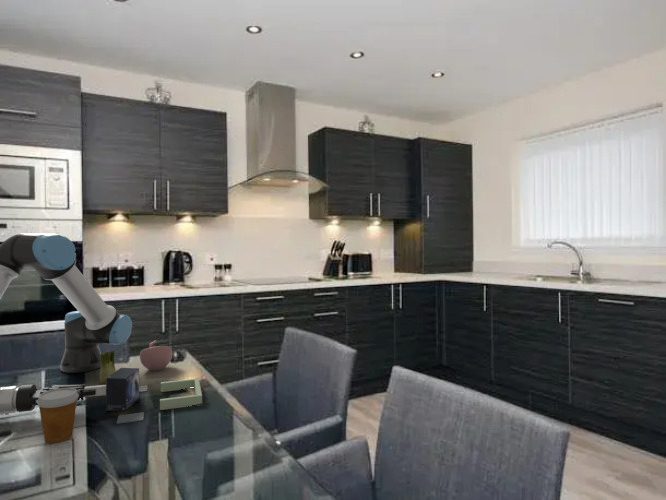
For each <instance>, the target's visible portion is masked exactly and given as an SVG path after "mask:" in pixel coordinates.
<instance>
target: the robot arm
mask: <svg viewBox="0 0 666 500" xmlns="http://www.w3.org/2000/svg"><path fill="white" fill-rule="evenodd" d="M76 251H77V250H76V246H75V244H74V243H73V241H72V240H71V239H70V238H68V237H67V236H65V235H63V234H59V233H52V232H51V233H50V232H47V233H29V232H27V233H26V232H24V233H18V234H14V235H12V236H10V237H9V238H7V239H6V240H4V241H3V242H2V243H1V244H0V300H1V299H2V297H3V296H4V295H5V293H6V291H7V289H8V287H9V285H10V283H12V280H14V279H17V278H19V276H20V273H22V271H23V270H25V269H32V270H33V269H34V271H36V273H38V275H39V276H40V277H41V278H42V279H44V280H45V281H46V280H47V281H51V282H52V283H53V284H54V285H55V286H56V287H57V289H58V290H59V291H60V292H61V294H63V296H64V297H65V298H67V300H68V301H69V302H70V303H71V304H72V306H73V307H74V308H75V309H76V311H74V310H73V311H70V312H67V313H66V314H65V317H64V344H65V345H64V346H65V348H64V353H63V356H62V359H61V361H60V366H59V367H60V371H61V372H63V373H67V374H68V373H69V374H71V373H72V374H75V373H76V374H77V373H83V372H90V371H94V370H98V369H101V356H100V354H102V352H101V349H100V347H99V344H101V345H102V344H103V345H110V346H115V345H118V346H120V345H123V344H124V343H126V341H127V340H128V339H129V338H130V336H131V332H132V328H133V323H132V319H131V317H130V316H129V315H126V314H121V313H119V312H118V310H117V309H116V308H115V307H114V306H113V305H111V304H110V305H109V304H107V303H106V302H105V301H104V299H102V297H101V296H100V295H99V293H98V292H97V291H96V289H94V286H92V285H91V283H90V282H89V281H88V279H87V278H86V277H85V276H84V275H83V273H82V272H81V271H80V269H78V267H77V266H76V263H77V258H76V257H77V253H76ZM58 388H74V389H76V390H77V393H78V394H79V397H78V399H77V402H78V401H84V398H89V397H98V396H99V397H100V396H106V385H101V384H100V385H90V386H86V384H85V383H83V384H51V385H50V386H49V387H43V388H41V389H37V386H36V384H33V383H32V384H30V383H29V384H24V385H23V384H22V385H20V386H18V385H10V386H0V415H3V414H4V415H5V416H9V414H13V413H16V412H17V413H22V412H23V413H25V412H31V411H34V409H35V408H36V406H37V405H38V404H37V400H38V398H39V395H40V394H42V393H44V392H46V391H49V390H53V389H58Z"/></svg>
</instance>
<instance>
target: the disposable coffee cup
mask: <svg viewBox="0 0 666 500" xmlns="http://www.w3.org/2000/svg"><path fill="white" fill-rule="evenodd" d="M78 397H79V394H78V393H77V390H76V389H74V388H58V389H53V390H49V391H46V392H44V393H42V394H40V395H39V398H38V400H37V404H38V407H39V408H38V409H39V415H40V419H41V425H42V431H43V438H44V442H45V443H47V444H57V443H61V442H64V441H67V440H69V439H70V438H72V437H73V434H74V426H75V417H76V410H77V403H78V401H77V399H78Z"/></svg>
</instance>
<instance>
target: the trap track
mask: <svg viewBox="0 0 666 500" xmlns="http://www.w3.org/2000/svg"><path fill="white" fill-rule="evenodd" d="M148 386H149V385H139V393H146V392H148ZM190 387H194V388H195V389H194V388H193V389H194V394H193V395H185V396H176V397H168V398H167V397H166V398H160V399H159V410H160V411H163V410H164V411H165V410H172V409H179V408H187V407H188V406H189V407H193V406H192V405H196V404H200V403H202V404H203V394H202V388H201V383H200V378H191V379H189V378H188V379H180V380H170V381H168V380H167V381H161V382H160V393H163V392H164V393H165V392H172V391H182V390H181V389H183V390H186V389H185V388H190ZM195 394H196V395H195ZM144 416H145V412H144V411H143V412H135V413H126V414H118V416H117V420H116V425H120V424H126V423H133V422H142V421H144Z"/></svg>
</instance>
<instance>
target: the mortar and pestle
mask: <svg viewBox="0 0 666 500" xmlns="http://www.w3.org/2000/svg"><path fill="white" fill-rule="evenodd" d="M157 343H158V341H157V340H154V341H152V342H150V343H149V345H148V346H149V347H146V348H143V349H141V351H140V352H139V360H140V364H141V365H143V367H144V368H145V369H147V370H150V371H160V370H162V369H164V368H166V367H167V366H168V365H169V364H170V362H171V361H172V358H173V349H172V347H171V346H169V345H158V346H156V345H155V344H157Z"/></svg>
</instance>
